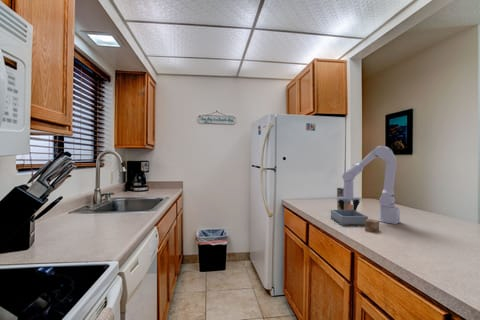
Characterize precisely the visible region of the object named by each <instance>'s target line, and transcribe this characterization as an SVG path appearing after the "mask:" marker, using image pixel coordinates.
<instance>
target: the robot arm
mask: <svg viewBox="0 0 480 320" xmlns="http://www.w3.org/2000/svg"><path fill="white" fill-rule="evenodd" d="M378 158H380V159H382V160H383V161H384V162H385V163H386V165H385V173H384V181H383V189H382V193H381V195H380V197H379V199H378V201H379V204H380V205H379V207H380V210H379V211H380V212H379V213H380V214H379V215H380V216H379V217H380V219H378V220H377V221H379V223H380V222H381V223H388V224H393V225H398V223H400V222H401V214H400V213H401V210H400V207H397V206H395V204H394V203H396V197H395V191H394V189H395V181H396V180H395V179H396V171H397V163H398V160H397V159H398V158H397V157H396V156H395V154H394V151H393V150H392V149H391V148H390V147H388V146H383V145H378V146H376V147H375V148H373V150H371V151H370V152H369V153H368V154H367V155H366V156H365V157H364V158H363V159H362V160H361V161H360V162H359V163H354V164H352V166H351V168H349V169H347V170H346V171H345V172H343V174H342V176H341V177H342V180H343V188H344V197H336V201H337V200H338V202H339V204H340V207H341V210H344V202H343V200H346V199H351V201H352V205H353V210H355V211H357V209H358V206H359V204H360V203H361V200H362V199H361V197H360V196H354V180H355V179H356V177H357V176H358V175H359V174H361V172H363V171H364V167H366V165H368V164H369V163H370V162H372V161H373V160H374V159H378Z"/></svg>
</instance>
